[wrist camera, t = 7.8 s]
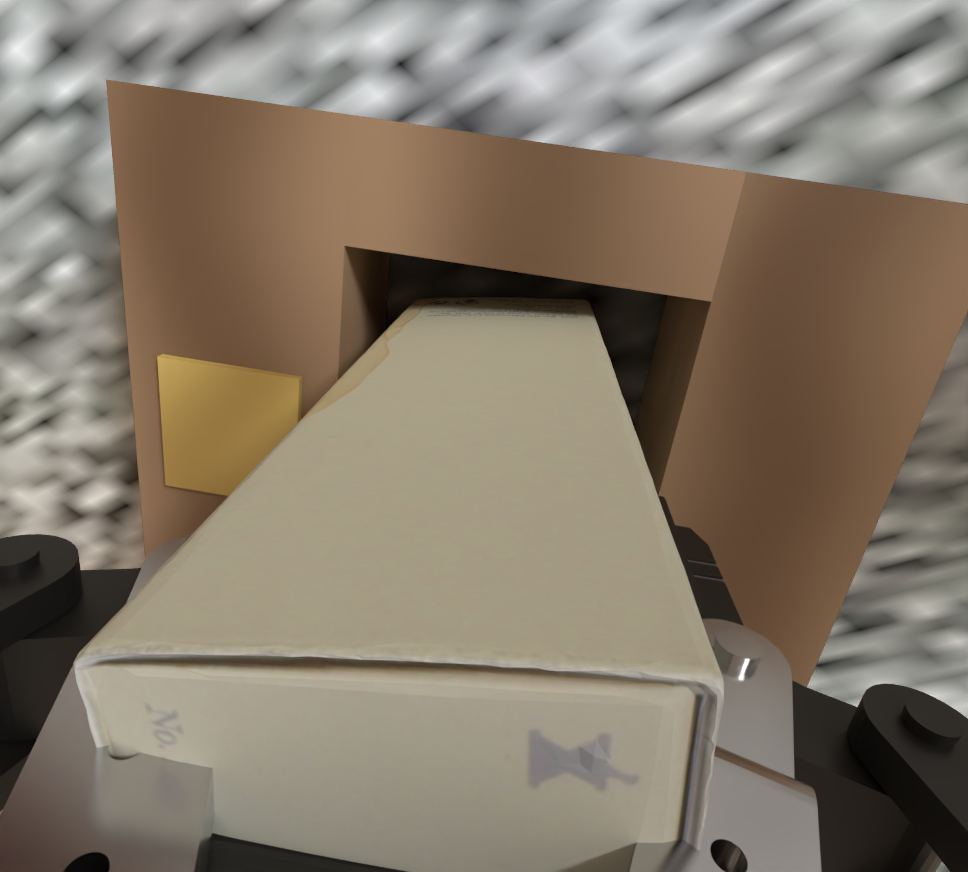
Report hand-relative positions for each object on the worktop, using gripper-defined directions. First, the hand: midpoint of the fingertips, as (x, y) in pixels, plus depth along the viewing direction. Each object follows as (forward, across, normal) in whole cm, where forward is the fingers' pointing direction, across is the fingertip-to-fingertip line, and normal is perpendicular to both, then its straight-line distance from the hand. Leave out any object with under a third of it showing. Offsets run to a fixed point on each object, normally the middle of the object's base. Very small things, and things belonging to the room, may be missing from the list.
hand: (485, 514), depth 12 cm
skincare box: (+5, 0, 0) cm, 5 cm away
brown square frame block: (+6, 0, 0) cm, 6 cm away
